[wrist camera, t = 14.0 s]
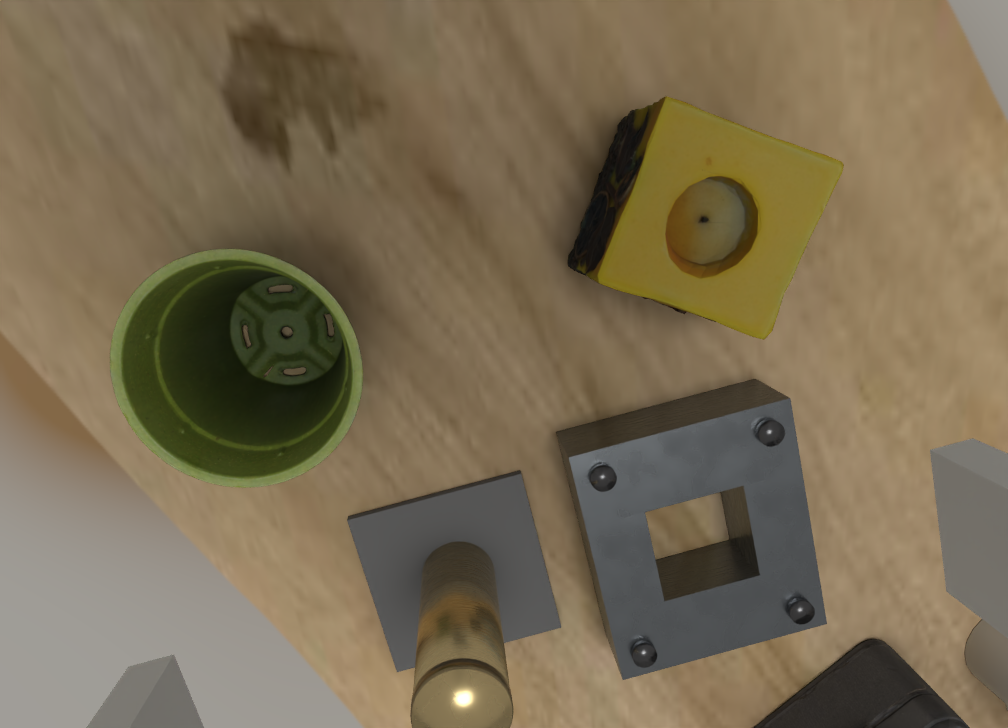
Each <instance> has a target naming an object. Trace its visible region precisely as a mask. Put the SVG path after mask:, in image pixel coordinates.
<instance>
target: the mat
mask: <svg viewBox="0 0 1008 728" xmlns="http://www.w3.org/2000/svg"><path fill="white" fill-rule="evenodd" d="M347 521H348V524H349V527H350V530H351V533H352V536H353V539H354V542H355V545H356V548H357V552H358V555H359V558H360V561H361V564H362V567H363V570H364V573H365V576H366V579H367V582H368V585H369V588H370V591H371V594H372V597H373V600H374V603H375V606H376V609H377V612H378V615H379V618H380V621H381V625H382V628H383V631H384V634H385V637H386V640H387V643H388V646H389V649H390V652H391V655H392V658H393V661H394V664H395V667H396V670H397V672H399V671H403V670H407V669H410V668H414V667H415V661H416V648H417V635H418V621H419V608H420V594H421V581H422V570H423V566H424V563H425V561H426V559H427V558H428V557H429V555H430V554H431V553H432V552H433V551H434V550H435V549H437V548H438V547H440V546H442V545H444V544H447V543H451V542H458V541H459V542H468V543H472V544H474V545H477V546H478V547H480V548H481V549H483V550H484V551H485V552H486V553H487V554H488V555H489V557H490V558H491V560H492V563H493V565H494V570H495V578H496V585H497V593H498V601H499V609H500V617H501V625H502V632H503V640H504V643H506V642H509V641H513V640H517V639H520V638H524V637H528V636H531V635H535V634H539V633H542V632H546V631H550V630H553V629H557V628H561V624H560V620H559V617H558V613H557V609H556V605H555V601H554V597H553V594H552V590H551V586H550V582H549V578H548V575H547V571H546V567H545V563H544V559H543V555H542V552H541V548H540V544H539V540H538V536H537V533H536V529H535V525H534V521H533V517H532V513H531V510H530V506H529V502H528V498H527V494H526V491H525V487H524V483H523V479H522V475H521V472H520V471H517V472H513V473H509V474H505V475H502V476H498V477H494V478H490V479H487V480H483V481H479V482H475V483H472V484H468V485H464V486H460V487H457V488H453V489H449V490H445V491H442V492H438V493H434V494H431V495H427V496H423V497H419V498H416V499H412V500H408V501H404V502H401V503H397V504H393V505H389V506H386V507H382V508H378V509H374V510H371V511H367V512H363V513H359V514H356V515H352V516H348V519H347Z"/></svg>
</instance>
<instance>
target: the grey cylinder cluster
mask: <svg viewBox="0 0 1008 728" xmlns="http://www.w3.org/2000/svg"><path fill="white" fill-rule="evenodd" d="M965 659H966V665H967V666H968V668H969V670H970V671H971V673H972V674H973V675H974V676H975V677H976V678H977V679H979V680H980V681H981V682H982V683H983V684H984V685H985V686H986V687H988V688H989V689H990V690H991V691H992V692H993V693H994V694H995V695H997V696H998V697H999V698H1000V699H1001V700H1002V701H1003V702H1004V703H1005V705H1006V709H1007V711H1008V638H1007V637H1005V636H1004V635H1003V634H1001V633H1000V632H999V631H997V630H996V629H995V628H994V627H992V626H991V625H990V624H988V623H987V622H986V621H984V620H983V619H982V620H981V621H980V622H979V624H978V625H977V626H976V627H975V628H974V629H973V630H972V632H971V634H970V636H969V638H968V640H967V643H966V648H965Z"/></svg>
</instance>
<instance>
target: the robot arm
mask: <svg viewBox="0 0 1008 728" xmlns="http://www.w3.org/2000/svg"><path fill="white" fill-rule="evenodd" d="M930 454H931V462H932V471H933V479H934V488H935V496H936V505H937V514H938V522H939V531H940V539H941V548H942V557H943V565H944V574H945V582H946V591H947V592H948V593H949V594H951V595H952V596H953V597H954V598H956V599H957V600H958V601H960V602H961V603H962V604H964V605H965V606H966V607H967V608H969V609H970V610H971V611H973V612H974V613H975V614H977V615H978V616H979V617H980V618H982V619H983V620H984V621H986V622H987V623H988V624H990V625H991V626H992V627H994V628H995V629H996V630H997V631H999V632H1000V633H1001V634H1003V635H1004V636H1005V637H1007V638H1008V454H1007V453H1005V452H1003V451H1001V450H998V449H996V448H994V447H991V446H989V445H987V444H985V443H982V442H980V441H978V440H975V439H969V440H965V441H962V442H958V443H954V444H951V445H947V446H943V447H940V448H936V449H932V450H930ZM87 728H204V727H203V724H202V722H201V719H200V717H199V715H198V712H197V710H196V707H195V705H194V702H193V700H192V697H191V695H190V693H189V690H188V688H187V685H186V683H185V680H184V678H183V676H182V673H181V671H180V668H179V666H178V663H177V661H176V659H175V656H174V655H170V656H167V657H163V658H159V659H156V660H152V661H148V662H145V663H141V664H137V665H134V666H130V667H128V668H127V670H126V671H125V673H124V674H123V676H122V677H121V679H120V680H119V681H118V683H117V684H116V686H115V687H114V689H113V690H112V692H111V693H110V695H109V696H108V698H107V699H106V700H105V702H104V703H103V705H102V706H101V708H100V709H99V711H98V712H97V713H96V715H95V716H94V718H93V719H92V721H91V722H90V724H89V725H88V726H87Z"/></svg>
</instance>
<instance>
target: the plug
mask: <svg viewBox="0 0 1008 728" xmlns="http://www.w3.org/2000/svg"><path fill="white" fill-rule="evenodd" d="M512 719H513V703H512V695H511V690H510V687H509V679H508V671H507V664H506V656H505V648H504V640H503V632H502V625H501V617H500V609H499V601H498V593H497V585H496V578H495V570H494V565H493V563H492V560H491V558H490V557H489V555H488V554H487V553H486V552H485V551H484V550H483V549H481V548H480V547H478V546H477V545H474V544H472V543H468V542H459V541H458V542H451V543H447V544H444V545H442V546H440V547H438V548H437V549H435V550H434V551H433V552H432V553H431V554H430V555H429V557H428V558H427V559H426V561H425V563H424V566H423V570H422V581H421V594H420V608H419V621H418V635H417V648H416V661H415V675H414V688H413V695H412V702H411V724H412V728H510V725H511V723H512Z"/></svg>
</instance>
